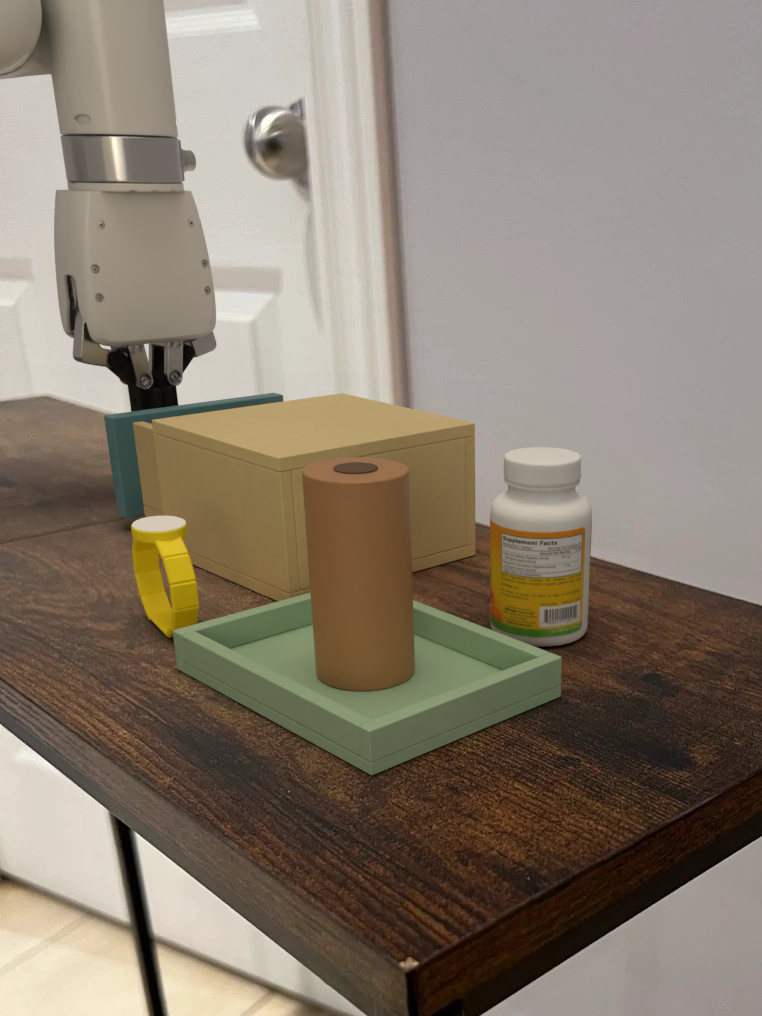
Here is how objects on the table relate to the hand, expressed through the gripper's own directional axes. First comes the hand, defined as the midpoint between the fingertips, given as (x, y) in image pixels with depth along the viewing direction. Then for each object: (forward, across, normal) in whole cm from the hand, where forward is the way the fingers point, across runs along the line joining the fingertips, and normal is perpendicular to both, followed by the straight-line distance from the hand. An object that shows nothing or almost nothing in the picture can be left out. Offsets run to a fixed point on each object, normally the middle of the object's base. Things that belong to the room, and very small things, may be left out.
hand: (158, 439), depth 86 cm
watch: (+4, +14, +25) cm, 29 cm away
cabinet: (+4, 0, +20) cm, 21 cm away
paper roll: (+4, +11, +38) cm, 40 cm away
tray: (+4, +11, +38) cm, 40 cm away
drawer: (+3, 0, +10) cm, 10 cm away
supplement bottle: (+4, 0, +39) cm, 40 cm away
